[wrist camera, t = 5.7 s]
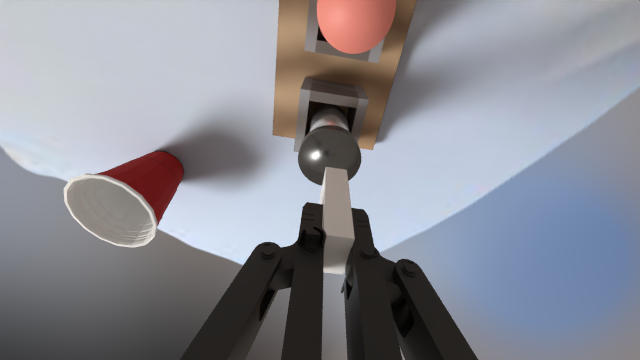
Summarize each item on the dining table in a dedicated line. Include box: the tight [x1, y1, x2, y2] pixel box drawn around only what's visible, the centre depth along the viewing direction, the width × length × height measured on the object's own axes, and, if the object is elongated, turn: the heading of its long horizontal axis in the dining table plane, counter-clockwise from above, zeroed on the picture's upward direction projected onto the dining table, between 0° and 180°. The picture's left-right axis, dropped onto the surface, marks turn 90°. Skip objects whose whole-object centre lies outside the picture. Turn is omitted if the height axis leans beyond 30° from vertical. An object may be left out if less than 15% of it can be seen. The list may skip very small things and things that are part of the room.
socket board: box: [273, 0, 417, 152], centre depth 25 cm, size 30×14×8 cm, turn 171°
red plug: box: [317, 0, 396, 54], centre depth 20 cm, size 5×5×9 cm
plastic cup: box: [64, 151, 184, 247], centre depth 35 cm, size 11×11×12 cm
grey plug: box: [298, 104, 361, 185], centre depth 25 cm, size 5×5×9 cm
